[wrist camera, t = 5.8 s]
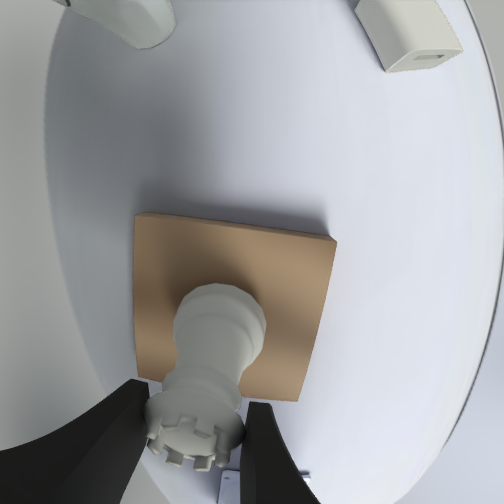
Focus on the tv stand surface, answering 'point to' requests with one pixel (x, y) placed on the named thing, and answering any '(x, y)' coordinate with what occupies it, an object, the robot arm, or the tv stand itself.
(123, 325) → the tv stand surface
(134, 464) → the robot arm
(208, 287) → the rook chess piece
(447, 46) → the usb wall charger
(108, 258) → the tv stand surface
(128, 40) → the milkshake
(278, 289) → the walnut plinth
